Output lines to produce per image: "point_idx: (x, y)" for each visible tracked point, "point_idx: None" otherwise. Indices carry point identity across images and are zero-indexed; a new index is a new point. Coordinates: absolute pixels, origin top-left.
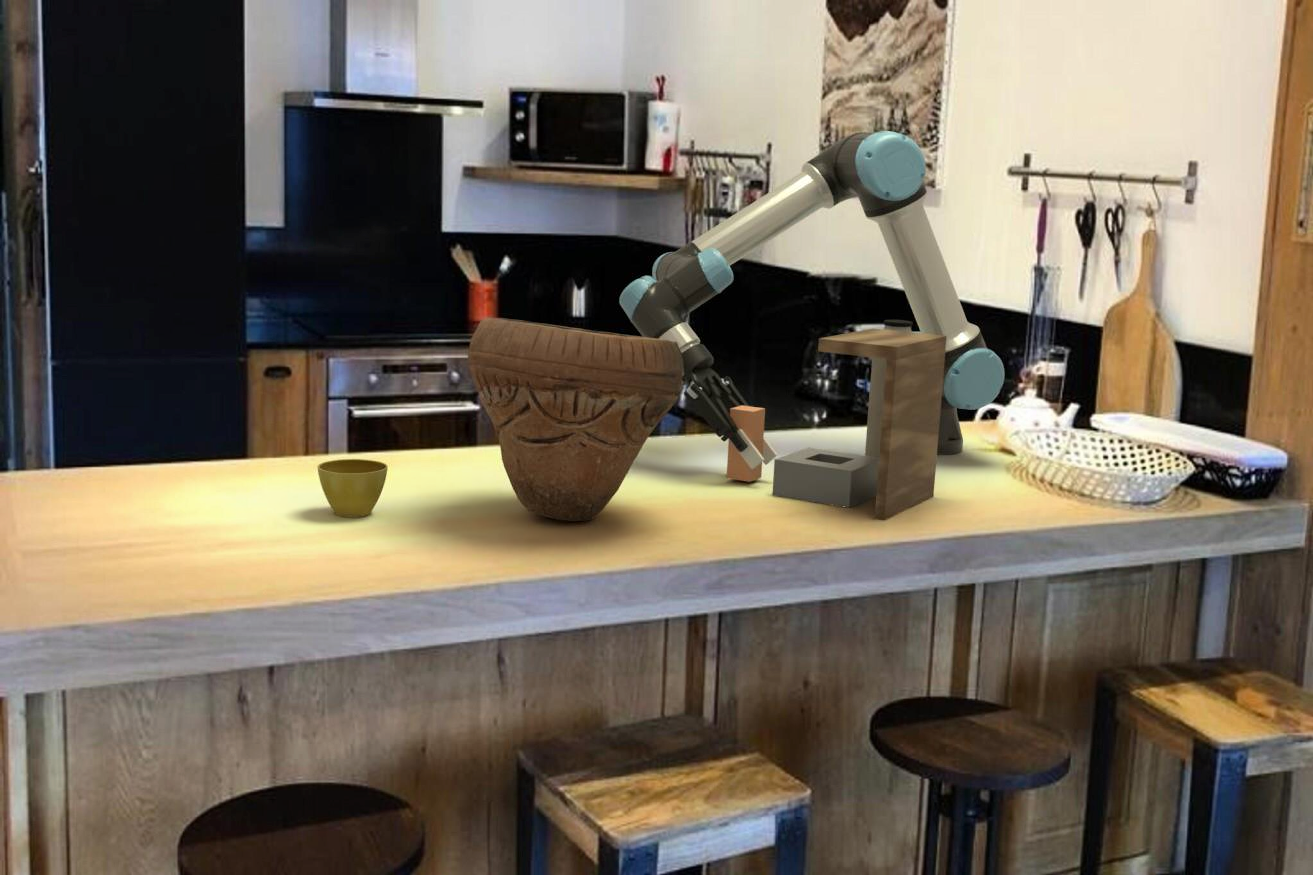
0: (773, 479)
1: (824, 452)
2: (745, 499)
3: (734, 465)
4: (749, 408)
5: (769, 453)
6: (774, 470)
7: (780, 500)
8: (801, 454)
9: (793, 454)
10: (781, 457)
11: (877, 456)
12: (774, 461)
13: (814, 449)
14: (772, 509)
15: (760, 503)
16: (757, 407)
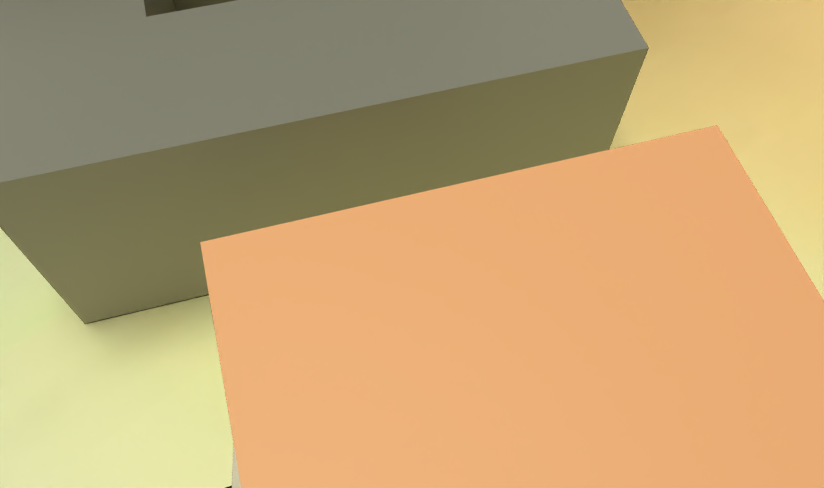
0: (610, 144)
1: (77, 22)
2: (809, 217)
3: None
4: (535, 414)
5: None
6: (624, 102)
7: (631, 113)
8: (305, 56)
9: (361, 84)
10: (547, 60)
11: None
12: (643, 59)
13: (15, 122)
14: (798, 28)
15: (781, 123)
16: (238, 414)
